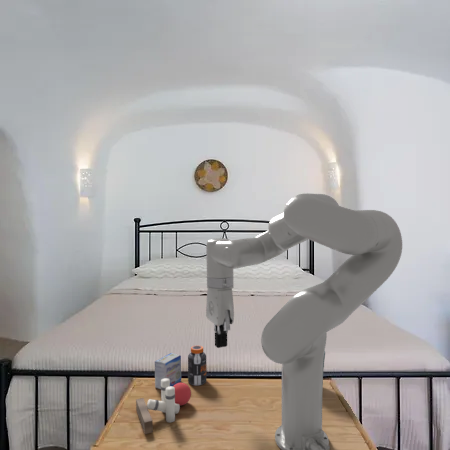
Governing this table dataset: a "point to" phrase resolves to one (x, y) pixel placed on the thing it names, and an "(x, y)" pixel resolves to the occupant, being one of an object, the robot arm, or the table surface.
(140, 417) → the back wall
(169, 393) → the pin
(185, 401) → the ball
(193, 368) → the pill bottle
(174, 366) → the medicine box
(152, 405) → the front pin
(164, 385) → the pin
